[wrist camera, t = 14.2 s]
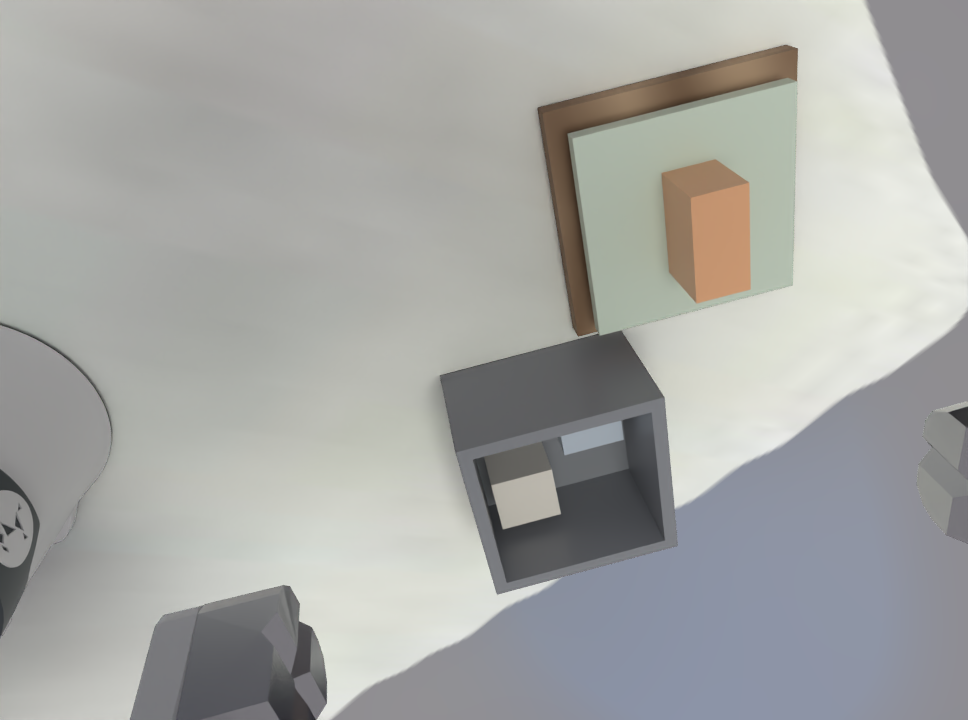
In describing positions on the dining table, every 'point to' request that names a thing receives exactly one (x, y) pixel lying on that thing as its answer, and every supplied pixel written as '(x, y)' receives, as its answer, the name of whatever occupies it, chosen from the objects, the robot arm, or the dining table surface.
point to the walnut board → (622, 106)
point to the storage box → (563, 459)
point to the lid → (688, 205)
